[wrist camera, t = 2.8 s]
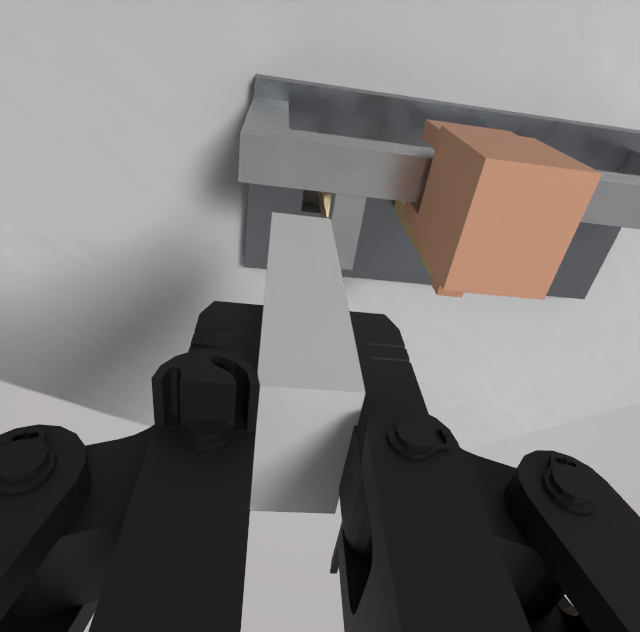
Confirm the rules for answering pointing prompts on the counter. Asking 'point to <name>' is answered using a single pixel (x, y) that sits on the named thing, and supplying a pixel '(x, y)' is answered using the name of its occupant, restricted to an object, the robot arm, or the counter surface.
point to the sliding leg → (495, 211)
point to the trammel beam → (378, 173)
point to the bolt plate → (407, 128)
